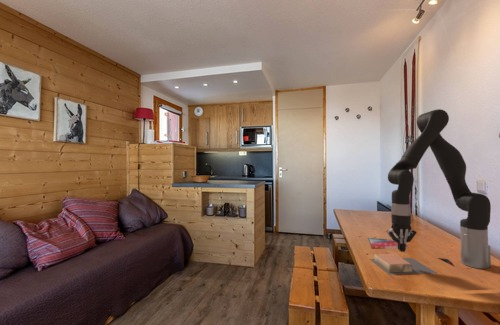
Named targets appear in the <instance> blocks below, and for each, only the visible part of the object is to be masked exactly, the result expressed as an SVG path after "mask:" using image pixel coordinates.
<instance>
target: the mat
mask: <svg viewBox="0 0 500 325" xmlns="http://www.w3.org/2000/svg"><path fill="white" fill-rule="evenodd" d="M401 258H402V259H404V260H405V261H407V262H409V263H410V264H412V272H388V271H387V270H386V269H384V268H383V267H382V266H380V265H379V264H378V263H377V262H375V261H374V258H369V261H371V262H372V263H373V264H374V265H376V266H377V267H379V269H381V270H382V271H383V272H385V273H386V274H387V275H393V276H394V275H420V274H421V275H422V274H424V275H425V274H427V275H428V274H438V272H436V271H435V270H434V269H432V268H430V267H429V266H427V265H425V264H423V263H421V262H419V261H417V260H416V259H414V258H412V257H401Z"/></svg>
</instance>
